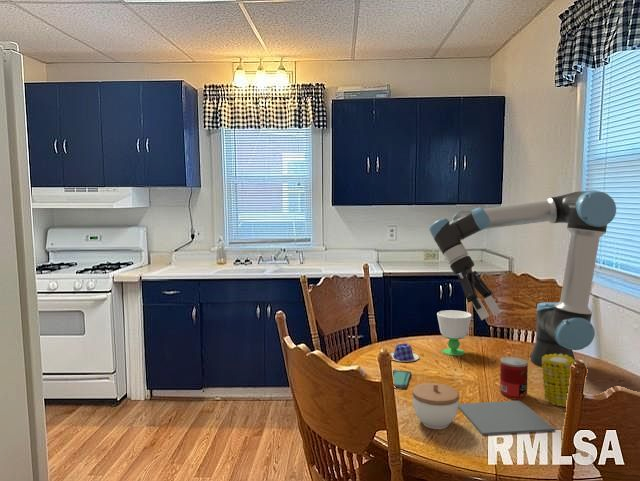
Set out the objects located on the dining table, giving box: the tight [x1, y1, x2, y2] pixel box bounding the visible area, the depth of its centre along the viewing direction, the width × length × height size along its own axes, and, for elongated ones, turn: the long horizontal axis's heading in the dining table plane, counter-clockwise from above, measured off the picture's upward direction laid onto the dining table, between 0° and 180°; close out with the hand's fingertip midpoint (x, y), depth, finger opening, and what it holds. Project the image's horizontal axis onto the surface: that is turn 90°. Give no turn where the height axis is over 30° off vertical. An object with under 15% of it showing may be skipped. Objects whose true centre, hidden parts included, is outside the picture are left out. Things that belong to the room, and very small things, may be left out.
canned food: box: [499, 356, 529, 400], centre depth 148 cm, size 8×8×11 cm
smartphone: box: [392, 369, 412, 390], centre depth 161 cm, size 7×1×15 cm
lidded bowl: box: [411, 382, 460, 430], centre depth 129 cm, size 13×13×11 cm
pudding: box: [391, 343, 420, 363], centre depth 185 cm, size 12×12×5 cm
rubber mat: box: [458, 400, 556, 436], centre depth 132 cm, size 20×18×1 cm
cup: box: [436, 309, 472, 357], centre depth 190 cm, size 14×14×16 cm
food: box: [541, 354, 577, 408], centre depth 142 cm, size 15×12×10 cm
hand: (491, 316), depth 153 cm, fingers open, 13 cm apart
